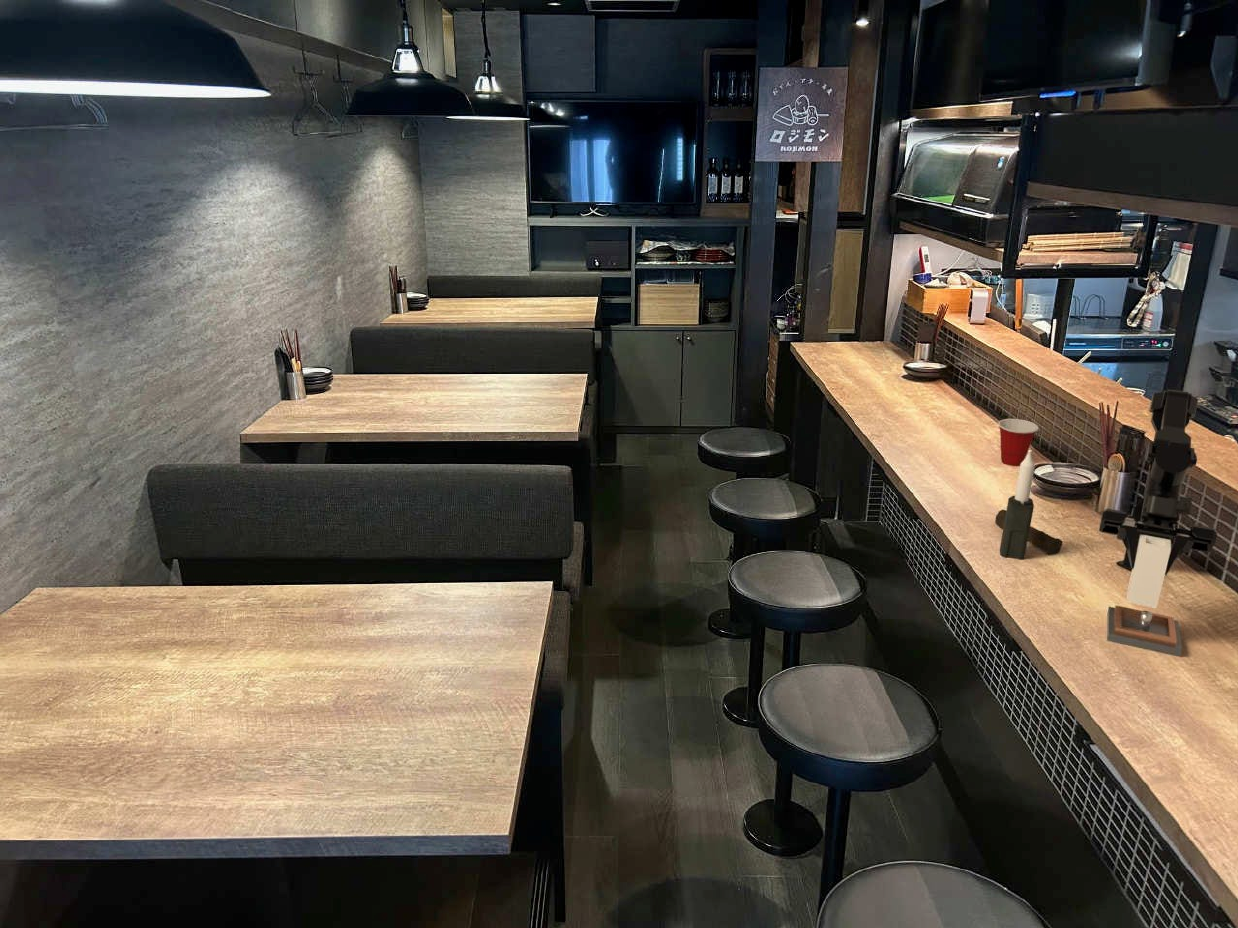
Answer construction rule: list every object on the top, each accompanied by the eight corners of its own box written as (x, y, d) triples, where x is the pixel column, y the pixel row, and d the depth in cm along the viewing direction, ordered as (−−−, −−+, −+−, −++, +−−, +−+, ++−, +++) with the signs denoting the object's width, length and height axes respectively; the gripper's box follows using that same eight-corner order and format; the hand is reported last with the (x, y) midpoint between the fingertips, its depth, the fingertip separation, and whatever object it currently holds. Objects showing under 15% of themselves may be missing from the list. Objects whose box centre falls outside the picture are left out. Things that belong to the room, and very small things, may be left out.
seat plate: (1107, 613, 183) (1111, 592, 182) (1176, 627, 178) (1181, 607, 177) (1107, 640, 173) (1111, 619, 172) (1180, 656, 168) (1185, 634, 167)
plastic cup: (991, 466, 266) (998, 426, 262) (992, 455, 276) (998, 416, 272) (1032, 471, 263) (1039, 431, 259) (1031, 460, 272) (1038, 421, 268)
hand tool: (1061, 554, 210) (1065, 536, 208) (1047, 556, 209) (1051, 537, 207) (1004, 523, 227) (1007, 505, 225) (990, 525, 226) (993, 507, 224)
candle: (1023, 551, 211) (1042, 447, 202) (1024, 560, 206) (1044, 454, 198) (999, 547, 212) (1017, 444, 204) (1000, 556, 208) (1018, 451, 199)
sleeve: (1127, 591, 177) (1140, 534, 173) (1156, 597, 175) (1170, 540, 171) (1126, 601, 173) (1139, 543, 169) (1156, 608, 171) (1170, 549, 167)
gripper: (1112, 468, 174) (1097, 542, 168) (1228, 487, 165) (1216, 566, 160) (1106, 494, 183) (1091, 565, 177) (1215, 513, 174) (1204, 589, 169)
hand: (1148, 571), depth 171 cm, fingers closed on sleeve, 5 cm apart
